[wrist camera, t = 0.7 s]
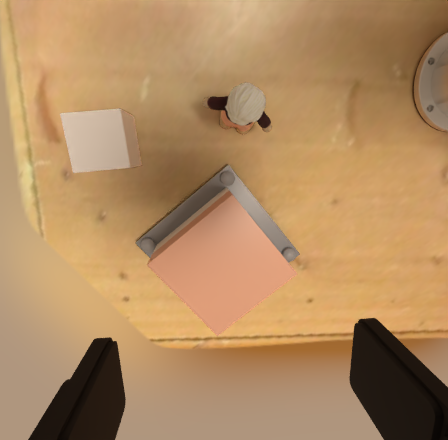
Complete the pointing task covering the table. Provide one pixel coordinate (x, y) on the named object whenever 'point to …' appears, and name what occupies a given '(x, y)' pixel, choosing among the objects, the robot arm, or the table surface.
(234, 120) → the grandmother figurine
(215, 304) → the pink framed box
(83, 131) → the white cube
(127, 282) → the table surface
